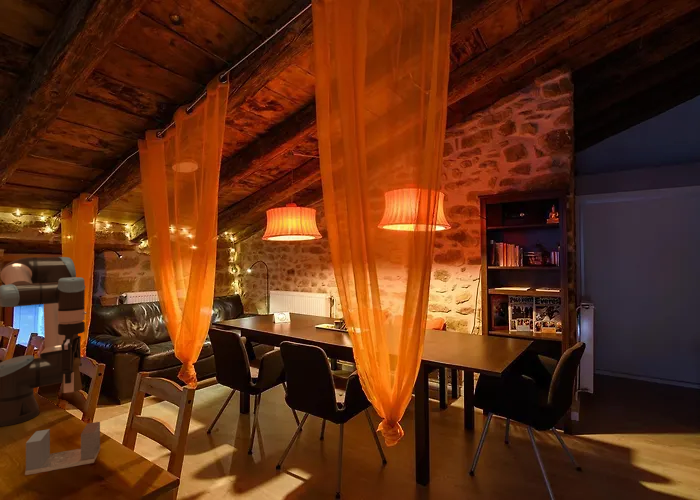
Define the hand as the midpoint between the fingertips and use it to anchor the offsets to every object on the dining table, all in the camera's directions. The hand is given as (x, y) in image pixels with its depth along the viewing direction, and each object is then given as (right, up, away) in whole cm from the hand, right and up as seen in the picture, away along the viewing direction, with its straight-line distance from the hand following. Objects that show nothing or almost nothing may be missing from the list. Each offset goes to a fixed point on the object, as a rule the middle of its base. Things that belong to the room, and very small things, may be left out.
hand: (71, 388), depth 132 cm
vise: (+8, -18, -13) cm, 23 cm away
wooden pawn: (0, -1, 0) cm, 1 cm away
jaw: (+1, -17, -16) cm, 23 cm away
